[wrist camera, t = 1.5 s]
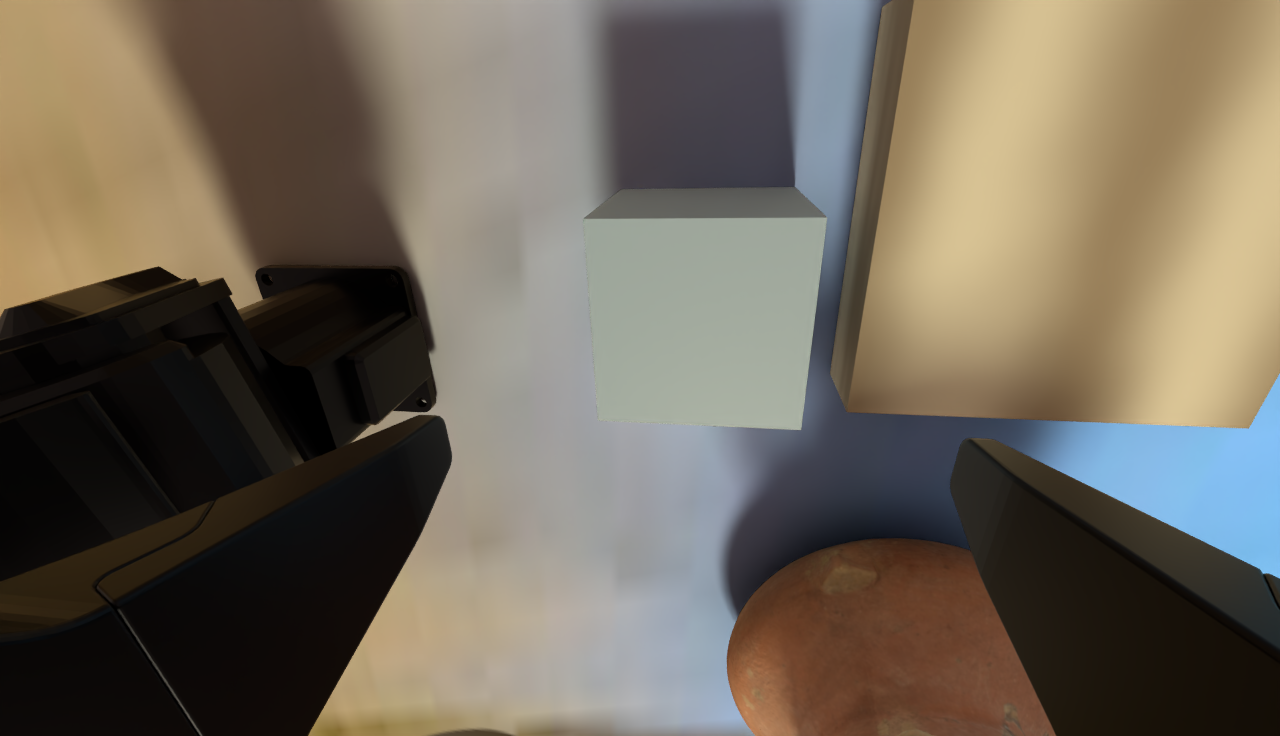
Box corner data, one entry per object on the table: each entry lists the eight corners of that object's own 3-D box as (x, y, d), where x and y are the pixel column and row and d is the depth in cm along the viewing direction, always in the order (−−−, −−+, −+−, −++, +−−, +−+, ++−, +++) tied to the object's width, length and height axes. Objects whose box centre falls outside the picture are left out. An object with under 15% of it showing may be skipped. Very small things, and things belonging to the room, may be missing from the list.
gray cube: (628, 343, 21) (598, 420, 16) (621, 189, 19) (583, 219, 13) (779, 347, 20) (800, 430, 15) (794, 186, 18) (827, 217, 13)
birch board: (829, 373, 21) (846, 412, 18) (881, 6, 15) (916, -16, 13) (1173, 384, 19) (1248, 428, 16) (1361, -21, 14) (1517, -54, 11)
